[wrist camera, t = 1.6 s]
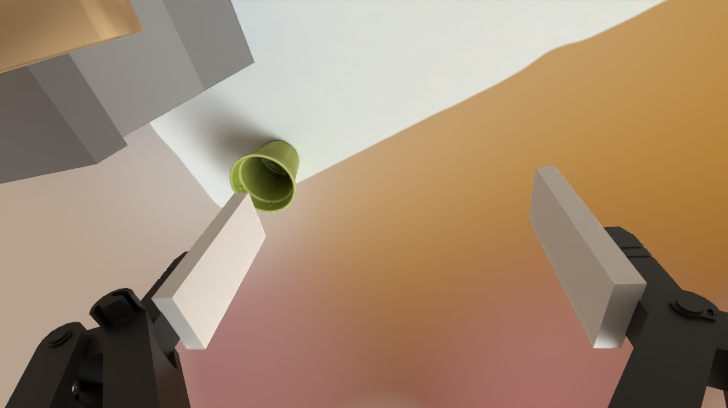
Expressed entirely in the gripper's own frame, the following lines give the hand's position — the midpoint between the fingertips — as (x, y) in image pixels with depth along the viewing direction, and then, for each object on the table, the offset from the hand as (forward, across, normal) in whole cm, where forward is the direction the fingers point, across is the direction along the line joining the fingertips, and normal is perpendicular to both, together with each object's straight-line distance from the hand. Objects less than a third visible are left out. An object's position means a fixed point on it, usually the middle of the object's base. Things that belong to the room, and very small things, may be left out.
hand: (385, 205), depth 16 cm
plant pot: (+35, -20, -12) cm, 42 cm away
